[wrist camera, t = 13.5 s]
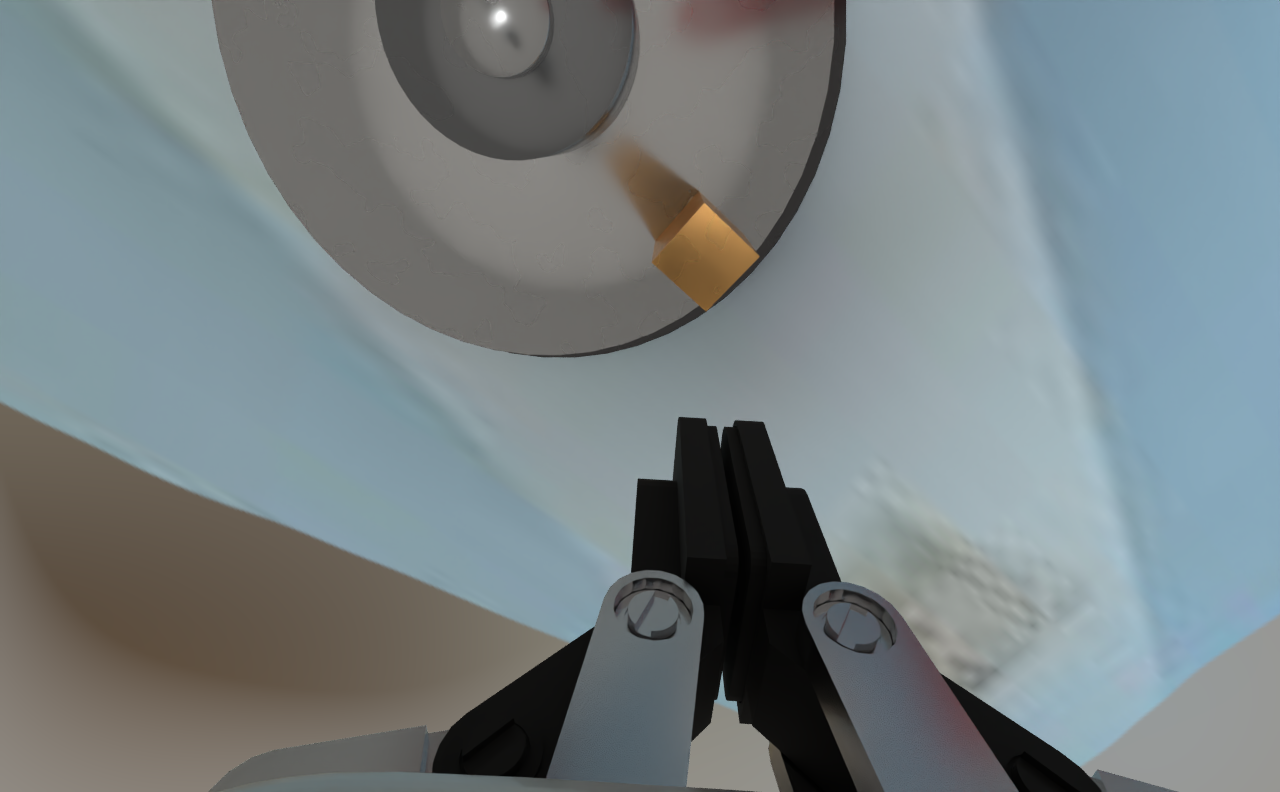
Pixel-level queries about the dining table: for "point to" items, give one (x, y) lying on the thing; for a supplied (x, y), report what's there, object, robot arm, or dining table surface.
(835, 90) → the turntable base
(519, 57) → the cover
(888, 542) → the dining table surface
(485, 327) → the turntable
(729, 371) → the dining table surface
